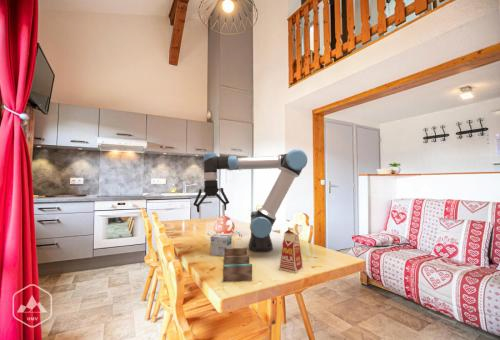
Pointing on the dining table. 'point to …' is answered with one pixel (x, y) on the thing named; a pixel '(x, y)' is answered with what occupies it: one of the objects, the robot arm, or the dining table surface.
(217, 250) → the light bulb box
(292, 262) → the milk carton
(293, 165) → the robot arm
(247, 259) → the rack
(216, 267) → the dining table surface
